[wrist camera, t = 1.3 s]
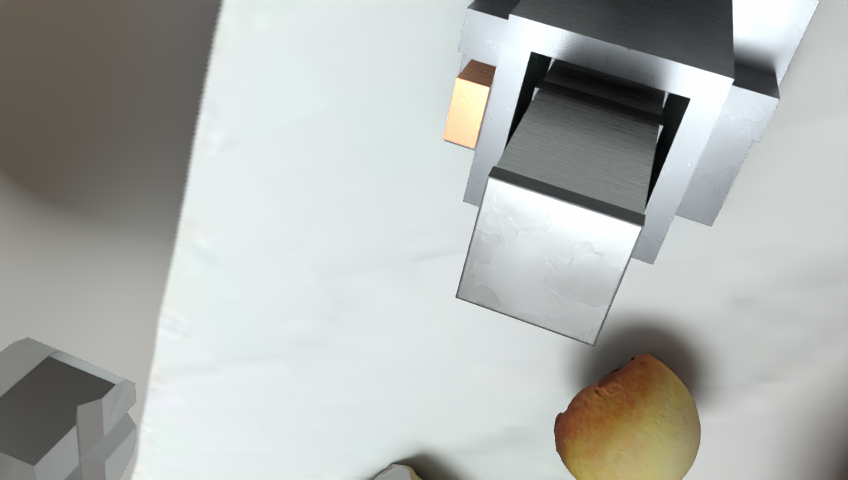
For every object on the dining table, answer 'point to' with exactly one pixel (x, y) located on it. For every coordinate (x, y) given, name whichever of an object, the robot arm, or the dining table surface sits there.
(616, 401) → the fruit
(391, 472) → the yellow rounded chunk
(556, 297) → the column
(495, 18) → the stand
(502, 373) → the dining table surface
